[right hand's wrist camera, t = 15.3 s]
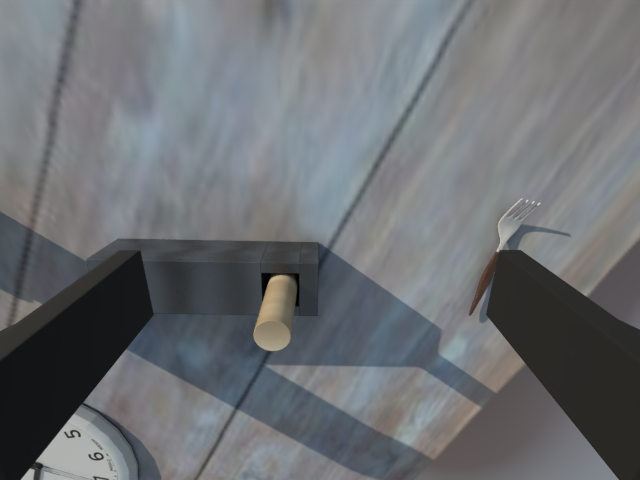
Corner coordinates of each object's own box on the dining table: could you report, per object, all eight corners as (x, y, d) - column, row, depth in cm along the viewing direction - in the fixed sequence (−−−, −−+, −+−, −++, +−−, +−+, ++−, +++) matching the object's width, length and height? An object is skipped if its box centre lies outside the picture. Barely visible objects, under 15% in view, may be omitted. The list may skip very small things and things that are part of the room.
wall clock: (161, 518, 57) (-2, 540, 59) (166, 507, 58) (6, 529, 60) (80, 380, 46) (-116, 413, 48) (88, 371, 48) (-103, 404, 50)
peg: (300, 276, 43) (291, 351, 29) (274, 276, 43) (254, 351, 29) (299, 253, 41) (290, 320, 28) (273, 253, 41) (252, 320, 28)
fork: (458, 311, 44) (464, 320, 42) (510, 193, 39) (520, 198, 37) (477, 315, 44) (484, 324, 42) (532, 198, 39) (542, 203, 37)
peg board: (318, 242, 41) (318, 263, 35) (317, 289, 43) (317, 316, 38) (117, 238, 41) (85, 259, 35) (127, 285, 43) (99, 312, 37)
